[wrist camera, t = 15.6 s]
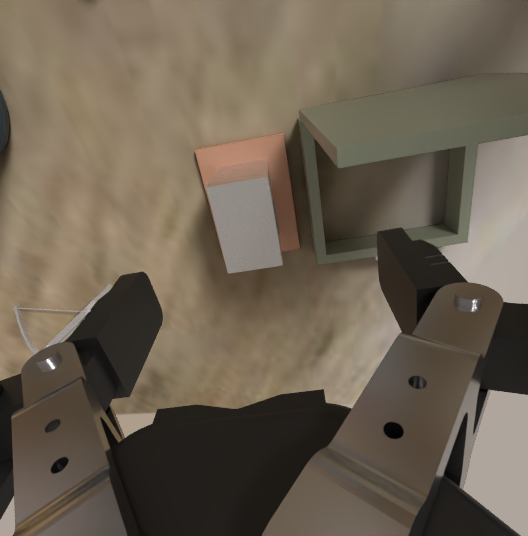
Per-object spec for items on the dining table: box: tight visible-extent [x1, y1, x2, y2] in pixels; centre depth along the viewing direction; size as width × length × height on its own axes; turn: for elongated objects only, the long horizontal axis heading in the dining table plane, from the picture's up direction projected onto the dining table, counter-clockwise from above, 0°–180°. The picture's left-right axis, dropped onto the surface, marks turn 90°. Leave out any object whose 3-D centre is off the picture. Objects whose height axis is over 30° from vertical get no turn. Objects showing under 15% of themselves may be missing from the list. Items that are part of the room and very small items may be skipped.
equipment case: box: [298, 73, 528, 265], centre depth 26 cm, size 15×16×21 cm
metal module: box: [206, 158, 283, 274], centre depth 33 cm, size 5×8×7 cm, turn 10°
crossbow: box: [13, 283, 113, 355], centre depth 44 cm, size 16×13×2 cm
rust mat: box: [195, 133, 300, 261], centre depth 36 cm, size 8×12×1 cm
